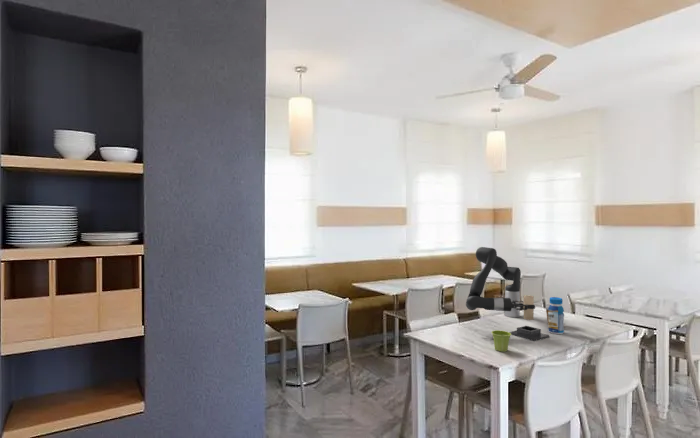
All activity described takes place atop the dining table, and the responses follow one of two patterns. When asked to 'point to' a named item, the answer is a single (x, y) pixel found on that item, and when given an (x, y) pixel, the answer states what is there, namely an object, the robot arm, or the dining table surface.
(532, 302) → the tan wooden block
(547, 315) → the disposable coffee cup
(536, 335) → the black socket base
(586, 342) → the dining table surface
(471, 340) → the dining table surface
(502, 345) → the plant pot
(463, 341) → the dining table surface
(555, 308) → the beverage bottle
